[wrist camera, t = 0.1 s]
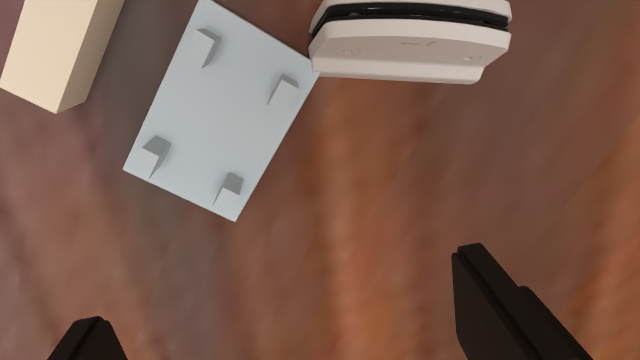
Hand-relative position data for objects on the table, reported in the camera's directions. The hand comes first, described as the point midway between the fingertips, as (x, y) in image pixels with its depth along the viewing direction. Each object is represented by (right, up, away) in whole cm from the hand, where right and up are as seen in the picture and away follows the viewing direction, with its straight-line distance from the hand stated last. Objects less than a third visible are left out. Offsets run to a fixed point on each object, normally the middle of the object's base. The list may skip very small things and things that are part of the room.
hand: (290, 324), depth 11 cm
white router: (+8, +17, +28) cm, 34 cm away
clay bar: (-19, +19, +25) cm, 37 cm away
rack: (-9, +10, +29) cm, 32 cm away
